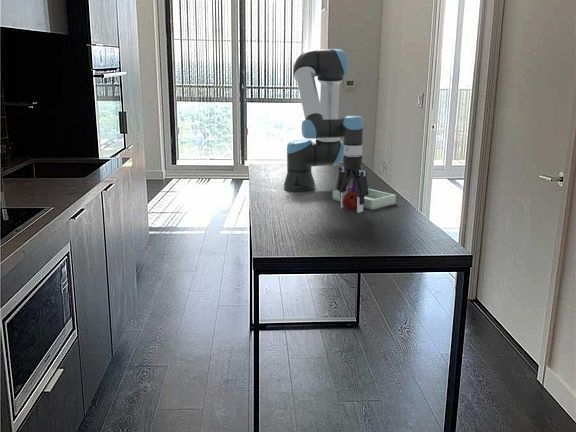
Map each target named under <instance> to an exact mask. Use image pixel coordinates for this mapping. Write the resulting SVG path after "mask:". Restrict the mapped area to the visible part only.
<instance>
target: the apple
mask: <svg viewBox="0 0 576 432" xmlns="http://www.w3.org/2000/svg"><path fill="white" fill-rule="evenodd" d="M358 196H359V195H358V194H357V193H356V192H348V193H347V194H346V195H345V196H344V199H343V205H344V207H345V208H344V209H345V210H347V211H348V212H349V211H350V212H353V211H357V197H358Z"/></svg>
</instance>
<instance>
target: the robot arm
mask: <svg viewBox="0 0 576 432" xmlns="http://www.w3.org/2000/svg"><path fill="white" fill-rule="evenodd" d="M292 69H293V71H292V73H293V77H294V80H295V82H297V85H298V86H297V87H298V92H299V95H300V100H301V107H302V111H303V115H304V119H305V120H303V121H302V122H301V135H302V137H303V138H299V139H294V140H291V141H289V142H288V143H287V145H286V163H287V164H286V165H287V166H286V167H287V169H286V170H287V171H286V176H285V180H284V183H283V189H284V190H285V191H288V192H309V191H313V190H315V189H316V182H315V179H314V175H313V174H312V172H313V171H312V167H324V166H325V167H328V166H329V167H332V166H338V165H340V164H341V162H342V163H343V166H339V167H338V177H337V182H336V183H337V184H336V189H335V190H339V191H340V199H341V202H340V209H346V208H345V207H344V205H343V199H344V196H345V195H346V194H347V192H345V191H347V190H346V188H348V183H349V181H350V179H351V178H352V179H353V181H354V182H355V185H356V188H357V191H358V195H359V196H358V197H357V210H356V213H358V214H359V213H363V212H364V208H363V204H364V197H365V196H367V195H369V193H368V189H369V187H368V186H369V185H368V180H367V175H368V171H367V170H363V171H362V168H361V166H362V165H363V156H362V155H363V140H364V139H363V132H364V130H363V129H364V120H363V119H364V118H363V117H362V116H360V115H346V116H344V117H341V118H339V103H340V102H339V101H340V100H339V99H340V84H341V83H342V82H343V81H344V77H346V76H347V75H348V71H349V63H348V58H347V55H346V52H345V51H344V50H343V49H341V48H324V49H323V48H320V49H318V48H317V49H312V48H309V49H307V50H305V51H304V52H301V54H299V56H298V57H297V59H296V60H295V62H294V65H293V68H292ZM316 77H317V81H318V82H319V83H320V94H319V92H318V88H317V84H316V80H315V78H316ZM319 96H320V97H319ZM341 138H343V140H341ZM313 139H315V141H312V140H313ZM342 160H343V161H342ZM361 193H362V194H361Z"/></svg>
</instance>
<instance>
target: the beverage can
mask: <svg viewBox="0 0 576 432" xmlns="http://www.w3.org/2000/svg"><path fill="white" fill-rule="evenodd" d="M361 170H362V169H361ZM362 171H364V170H362ZM347 188H348V192H356V193H357V194H358V191H357V188H356V185H355V182H354V181H353V179H352V178H351V179H350V181H349V183H348V186H347ZM361 194H362V193H361Z"/></svg>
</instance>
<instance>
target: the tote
mask: <svg viewBox="0 0 576 432" xmlns="http://www.w3.org/2000/svg"><path fill="white" fill-rule="evenodd" d="M346 190H347V191H345V192H347V193H348V187H347V188H346ZM368 193H369V195H367V196H365V197H364V204H363V209H366V210H371V211H373V210H377V209H382V208H385V207H388V206H389V207H390V206H393V205H396V201H397V200H396V197H397V194H393V193H389V192H385V191H380V190H376V189H373V188H372V189H371V188H368ZM332 200H333V201H337V202H340V203H341V199H340V191H339V190H337V189H335V190H332Z"/></svg>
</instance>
